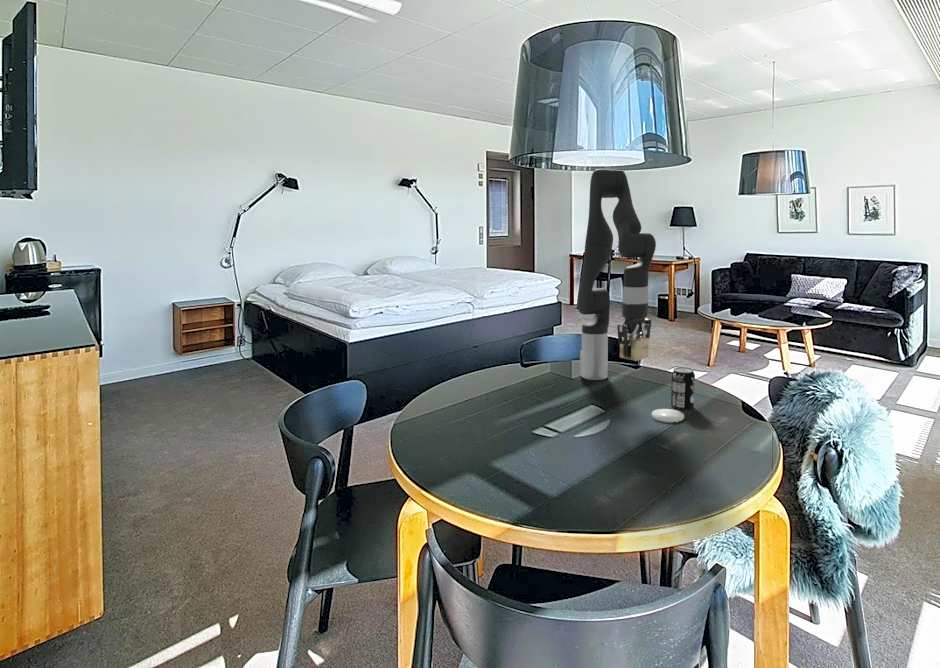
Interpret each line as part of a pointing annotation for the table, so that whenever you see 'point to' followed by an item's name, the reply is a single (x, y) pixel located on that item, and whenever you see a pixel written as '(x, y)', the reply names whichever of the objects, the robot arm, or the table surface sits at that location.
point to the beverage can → (682, 388)
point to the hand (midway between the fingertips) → (633, 354)
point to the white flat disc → (667, 415)
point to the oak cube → (637, 348)
